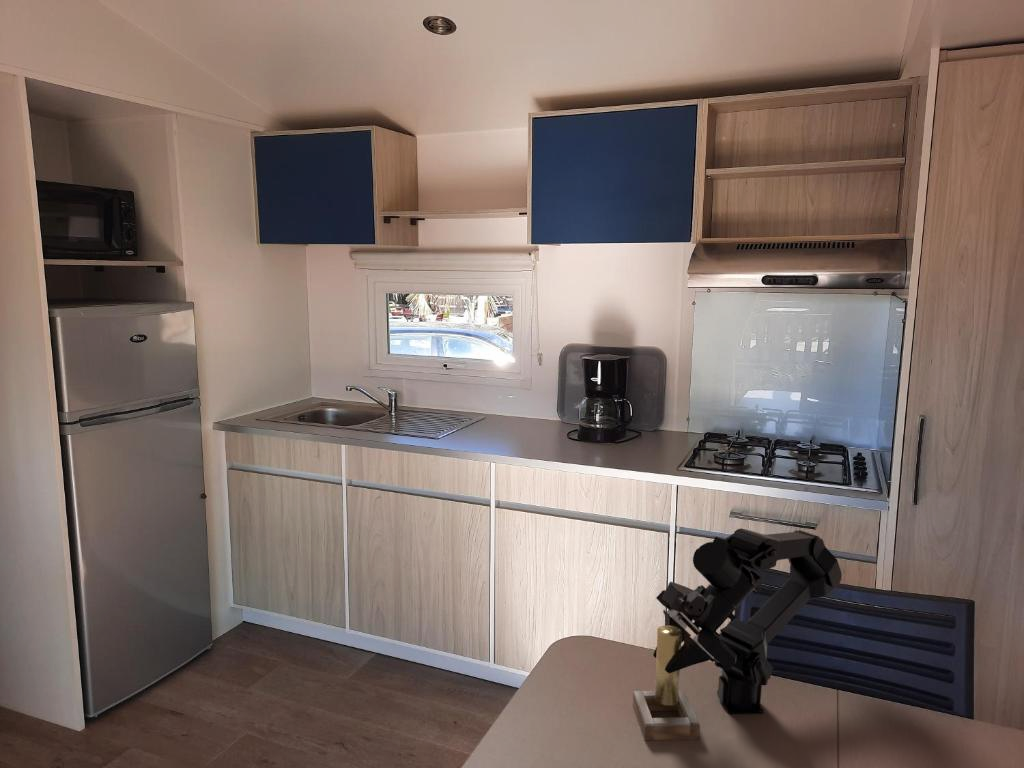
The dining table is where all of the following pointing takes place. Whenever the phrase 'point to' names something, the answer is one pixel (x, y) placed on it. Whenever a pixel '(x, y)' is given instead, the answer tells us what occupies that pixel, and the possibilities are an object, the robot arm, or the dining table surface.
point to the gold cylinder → (666, 650)
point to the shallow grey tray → (665, 727)
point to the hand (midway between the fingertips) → (660, 664)
